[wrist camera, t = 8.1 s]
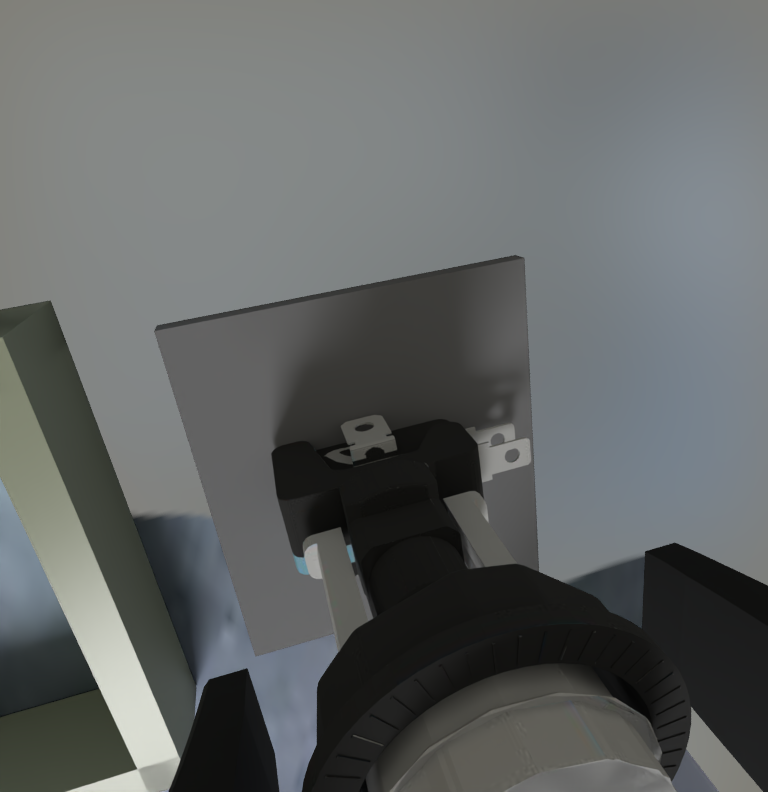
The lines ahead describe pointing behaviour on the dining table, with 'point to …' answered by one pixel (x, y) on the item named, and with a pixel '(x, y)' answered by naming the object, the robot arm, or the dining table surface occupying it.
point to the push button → (463, 632)
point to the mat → (346, 410)
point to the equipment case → (85, 585)
